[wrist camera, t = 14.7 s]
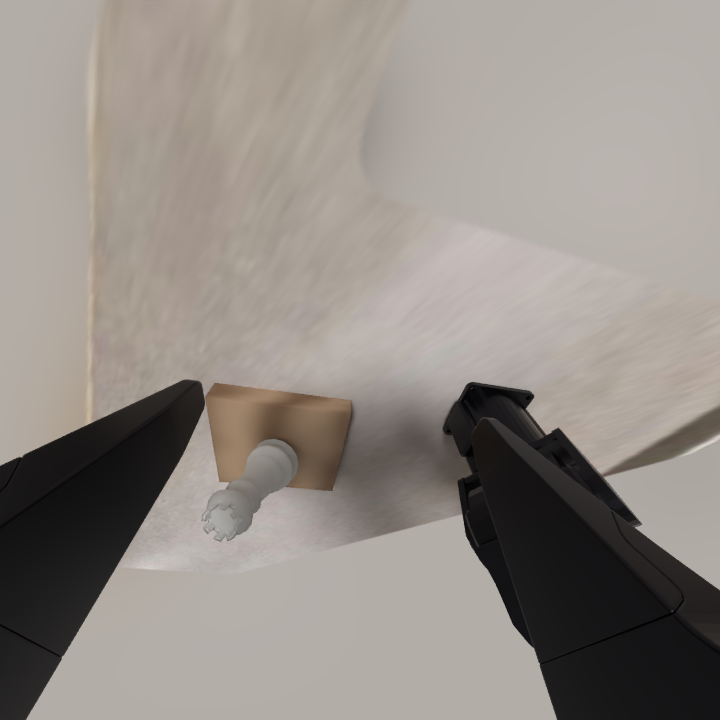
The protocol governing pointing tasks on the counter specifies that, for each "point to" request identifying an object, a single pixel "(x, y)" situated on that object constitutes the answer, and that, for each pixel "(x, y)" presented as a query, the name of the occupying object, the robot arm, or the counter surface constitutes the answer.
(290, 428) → the walnut block
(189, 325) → the counter surface
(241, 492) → the rook chess piece
